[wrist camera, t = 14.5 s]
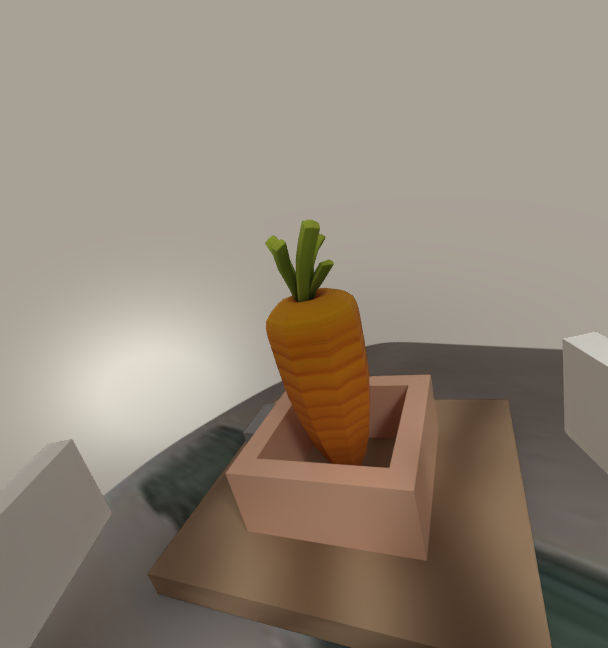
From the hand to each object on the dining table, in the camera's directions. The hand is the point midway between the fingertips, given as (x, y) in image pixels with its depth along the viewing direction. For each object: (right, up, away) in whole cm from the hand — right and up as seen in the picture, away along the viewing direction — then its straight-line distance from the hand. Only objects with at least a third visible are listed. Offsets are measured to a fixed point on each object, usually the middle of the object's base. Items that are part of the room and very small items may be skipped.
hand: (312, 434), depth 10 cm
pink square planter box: (+3, -6, +13) cm, 14 cm away
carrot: (+3, -6, +13) cm, 14 cm away
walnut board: (+3, -7, +13) cm, 15 cm away
